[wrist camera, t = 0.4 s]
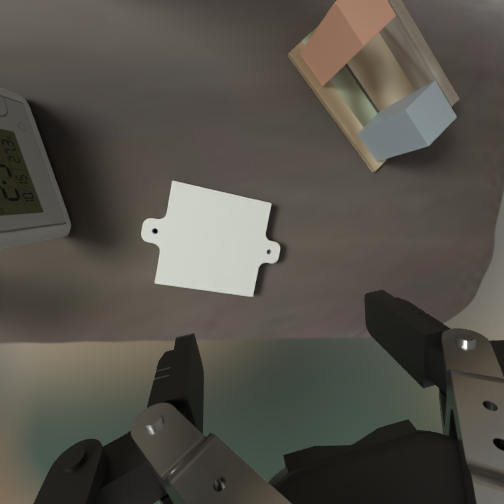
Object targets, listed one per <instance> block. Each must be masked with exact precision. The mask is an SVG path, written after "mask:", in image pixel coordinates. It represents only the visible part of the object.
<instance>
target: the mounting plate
mask: <svg viewBox="0 0 504 504" xmlns="http://www.w3.org/2000/svg"><path fill="white" fill-rule="evenodd" d="M271 204H272V203H268V202H263V201H259V200H255V199H250V198H246V197H241V196H237V195H233V194H228V193H224V192H220V191H215V190H211V189H207V188H202V187H198V186H193V185H189V184H185V183H180V182H176V181H172V186H171V192H170V198H169V203H168V209H167V214H166V216H165V217H164V218H162V219H155V218H149V219H146V220H145V221H144V223H143V226H142V232H141V236H142V238H143V240H144V241H146V242H149V243H154V244H156V245H158V246H159V248H160V255H159V261H158V267H157V273H156V278H155V283H156V284H163V285H170V286H178V287H185V288H192V289H199V290H207V291H214V292H221V293H228V294H236V295H243V296H250V297H253V293H254V288H255V283H256V278H257V273H258V269H259V266H260V265H261V264H262V263H275V262H276V261H277V260H278V258H279V253H280V246H279V244H278V243H277V242H273V241H269V240H268V239H267V238H266V229H267V224H268V219H269V214H270V209H271ZM154 228H156V229H157V230H158V233H154V231H153V230H154ZM267 250H269V251H268V253H267Z"/></svg>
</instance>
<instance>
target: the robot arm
mask: <svg viewBox="0 0 504 504" xmlns="http://www.w3.org/2000/svg"><path fill="white" fill-rule="evenodd" d="M365 319H366V327H367V329H368V332H369V333H370V335H371V336H372V337H373V338H374V339H375V340H376V341H377V342H378V343H379V344H380V345H381V346H382V347H383V348H384V349H385V350H386V351H387V352H388V353H389V354H390V355H391V356H392V357H393V358H394V359H395V360H396V361H397V362H398V363H399V364H400V365H401V366H402V367H403V368H404V369H405V370H406V371H407V372H408V373H409V374H410V375H411V376H412V377H413V378H414V379H415V380H416V381H417V382H418V384H420V385H421V387H423V388H426V387H429V386H433V385H436V386H437V387H438V388H439V395H438V396H439V405H440V414H441V423H442V432H443V434H440V433H436V432H431V431H422V430H416V428H415V427H414V426H413V425H412V423H411V422H410V421H409V420H404V421H401V422H397V423H394V424H391V425H387V426H384V427H380V428H378V429H376V430H375V431H373V432H372V433H370V434H369V435H367V436H365V437H364V438H363V439H361V440H359V441H358V442H356V443H355V444H353V445H348V446H347V445H344V446H314V447H310V448H307V449H303V450H300V451H296V452H293V453H289V454H286V455H284V461H285V466H286V468H284V469H283V470H281V471H280V472H279V473H277V474H276V475H275V476H274V477H273V478H272V479H271V480H270V481H269V482H267V481H266V480H265V479H264V478H263V477H262V476H261V475H259V474H258V473H257V472H256V471H255V470H254V469H253V468H252V467H251V466H250V465H248V464H247V463H246V462H245V461H244V460H243V459H242V458H240V456H238V455H237V454H236V453H235V452H234V451H233V450H232V449H231V448H230V447H229V446H227V445H226V444H225V443H224V442H223V441H222V440H221V439H220V438H218V437H217V436H216V435H215V434H212V433H211V434H209V435H208V436H207V437H205V436H204V435H203V407H204V372H203V365H202V361H201V357H200V353H199V350H198V346H197V342H196V338H195V335H194V334H193V333H192V334H188V335H184V336H179V337H176V341H175V346H174V350H171V351H167V352H165V353H164V355H163V356H162V357H161V359H160V360H159V363H158V366H157V370H156V371H157V372H156V374H155V380H154V382H153V386H152V390H151V394H150V397H149V402H148V405H147V409H145V410H144V411H143V412H142V413H141V414H139V415H138V417H137V418H136V419H135V421H134V422H133V425H132V427H131V431H130V432H128V433H127V434H125V435H124V436H122V437H120V438H118V439H116V440H114V441H113V442H111V443H109V444H107V445H105V446H104V447H103V446H102V444H101V443H100V441H98V440H96V439H86V440H83V441H80V442H78V443H76V444H74V445H73V446H71V447H70V448H68V449H67V450H66V451H65V452H63V453H62V454H61V455H60V456H59V457H58V458H57V460H56V461H55V462H54V463H53V465H52V466H51V468H50V470H49V472H48V474H47V476H46V478H45V480H44V483H43V485H42V487H41V489H40V491H39V493H38V495H37V498H36V499H35V502H34V504H153V503H155V502H156V501H159V503H160V504H504V340H500V341H498V340H497V341H489V340H488V339H487V338H486V337H484V336H483V335H481V334H479V333H477V332H474V331H471V330H467V329H460V328H455V329H450V328H448V327H447V326H445V325H444V324H442V323H441V322H439V321H438V320H436V319H435V318H433V317H432V316H430V315H429V314H426V313H425V312H424V311H422V310H421V309H418V307H416V306H415V305H413V304H412V303H410V302H409V301H406V300H403V299H400V298H397V297H396V298H395V297H393V296H392V295H390V294H389V293H387V292H386V291H384V290H379V291H374V292H370V293H366V294H365Z"/></svg>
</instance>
